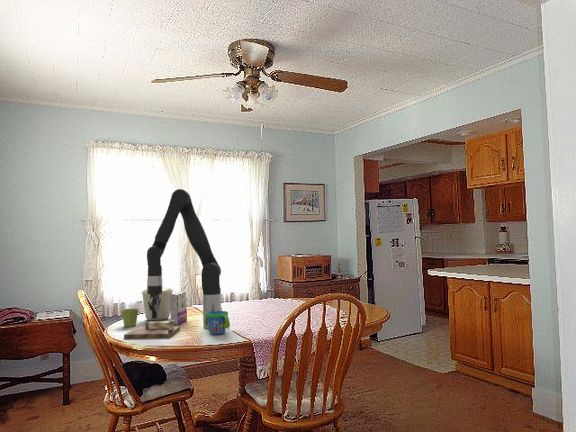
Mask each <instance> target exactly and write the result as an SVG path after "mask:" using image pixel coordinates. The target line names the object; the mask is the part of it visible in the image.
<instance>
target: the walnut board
mask: <svg viewBox="0 0 576 432" xmlns="http://www.w3.org/2000/svg"><path fill="white" fill-rule="evenodd" d="M180 331H181V327H180V326H173V328H169V329H146V326H145V327H144V326H143V327H136V328H134V329H132V330H130V331H128V332H126V333H124V334H123V340H134V339H138V340H140V339H170V338H172V337H174V336H175V335H176V334H177V333H179V332H180Z"/></svg>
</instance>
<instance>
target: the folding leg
mask: <svg viewBox="0 0 576 432" xmlns="http://www.w3.org/2000/svg"><path fill="white" fill-rule="evenodd" d="M173 322H175V320H171V319H170V320H169V321H168V320H166V321H164V320H160V321H146V322H145V327H146V329H169V328H173V327H174V325H173Z"/></svg>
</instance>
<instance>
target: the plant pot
mask: <svg viewBox="0 0 576 432" xmlns="http://www.w3.org/2000/svg"><path fill="white" fill-rule="evenodd" d="M139 310H140V309H139V308H126V309H121V310H120V312H121V315H122V316H121V317H122V321H123V326H124V327H125V328H126V327H127V328H130V327H134V326H135V327H136V325H137V322H138V321H137V319H138V315H139Z"/></svg>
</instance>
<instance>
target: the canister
mask: <svg viewBox="0 0 576 432" xmlns="http://www.w3.org/2000/svg"><path fill="white" fill-rule="evenodd" d="M173 292H174V289H172V288H170V287H163V286H162V293H161V294H159V297H160V299H161V302H160V306H159V309H158V311H157V318H156V319H153V318H152V311H151V310H150V308H149V305H148V302H150V294H147V288H146V289H143V291H141V294H142V302H143V308H144V309H143V310H144V316H145V319H146V320H147V321H149V322H158V321H164V320H167V319H169V317H171V315H170V295H171V294H173Z"/></svg>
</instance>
